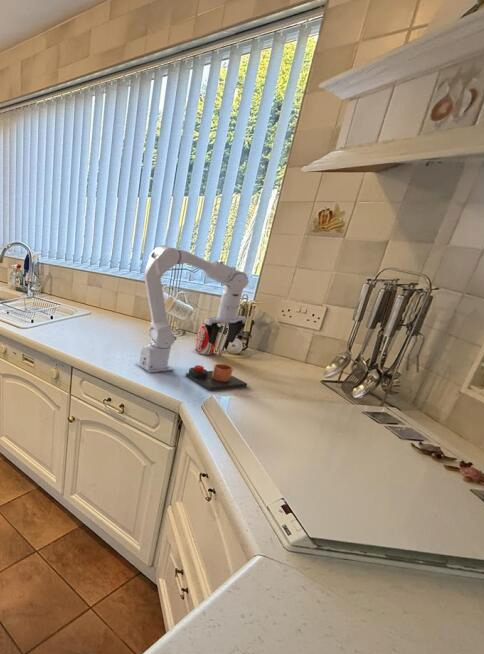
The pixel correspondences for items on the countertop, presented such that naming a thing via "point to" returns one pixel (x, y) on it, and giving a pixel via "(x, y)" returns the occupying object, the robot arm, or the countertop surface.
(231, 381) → the scale
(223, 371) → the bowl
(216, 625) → the countertop surface
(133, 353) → the countertop surface
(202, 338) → the soda can
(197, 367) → the button
